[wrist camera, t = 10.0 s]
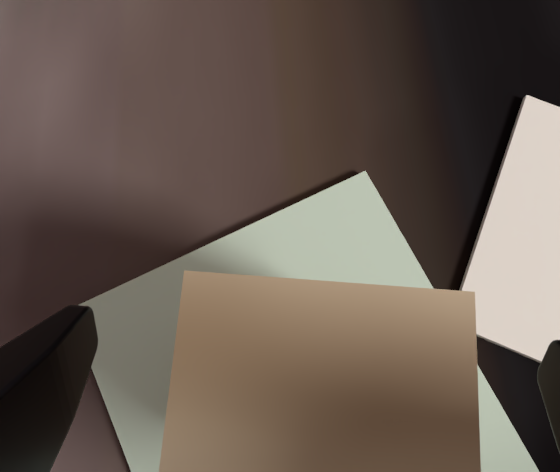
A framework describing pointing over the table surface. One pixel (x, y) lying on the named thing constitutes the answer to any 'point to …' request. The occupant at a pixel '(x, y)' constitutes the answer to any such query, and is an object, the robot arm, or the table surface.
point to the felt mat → (272, 263)
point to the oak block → (321, 378)
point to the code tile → (521, 239)
